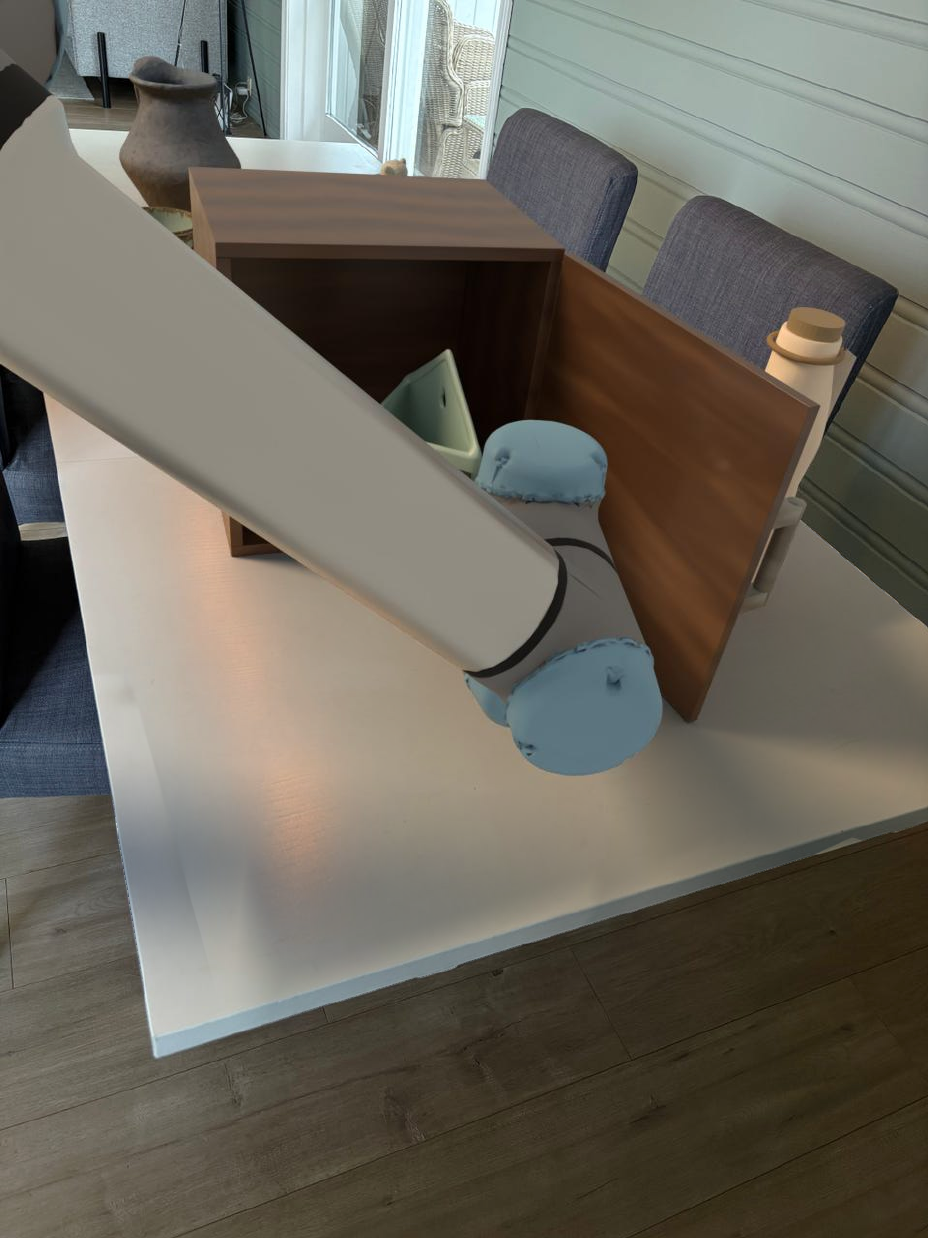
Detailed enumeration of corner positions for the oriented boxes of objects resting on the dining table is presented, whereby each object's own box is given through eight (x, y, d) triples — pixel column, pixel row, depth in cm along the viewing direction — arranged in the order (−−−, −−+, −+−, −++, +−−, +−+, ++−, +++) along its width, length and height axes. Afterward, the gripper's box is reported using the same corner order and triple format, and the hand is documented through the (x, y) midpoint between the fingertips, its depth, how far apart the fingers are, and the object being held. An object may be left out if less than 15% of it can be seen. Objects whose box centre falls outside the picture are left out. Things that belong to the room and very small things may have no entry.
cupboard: (514, 532, 100) (565, 248, 81) (231, 556, 91) (214, 242, 72) (453, 435, 116) (485, 178, 97) (207, 447, 106) (188, 166, 87)
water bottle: (724, 532, 105) (810, 291, 88) (789, 572, 100) (893, 325, 83) (667, 558, 100) (747, 306, 82) (733, 602, 95) (833, 343, 77)
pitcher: (168, 245, 157) (154, 80, 142) (100, 209, 168) (80, 52, 152) (264, 229, 170) (261, 76, 154) (196, 197, 180) (187, 50, 165)
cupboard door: (564, 524, 102) (625, 250, 83) (746, 702, 83) (879, 395, 64) (512, 535, 99) (564, 253, 81) (688, 722, 80) (810, 407, 61)
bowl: (215, 281, 147) (213, 230, 142) (130, 287, 141) (124, 234, 136) (190, 253, 156) (187, 203, 151) (108, 257, 150) (102, 206, 145)
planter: (330, 506, 94) (333, 318, 81) (401, 495, 97) (415, 313, 84) (388, 601, 83) (402, 400, 70) (467, 585, 86) (494, 390, 73)
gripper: (328, 612, 69) (280, 461, 85) (580, 585, 76) (490, 450, 92) (331, 530, 64) (279, 386, 81) (599, 509, 71) (501, 380, 87)
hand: (391, 420), depth 86 cm, fingers closed on planter, 8 cm apart
